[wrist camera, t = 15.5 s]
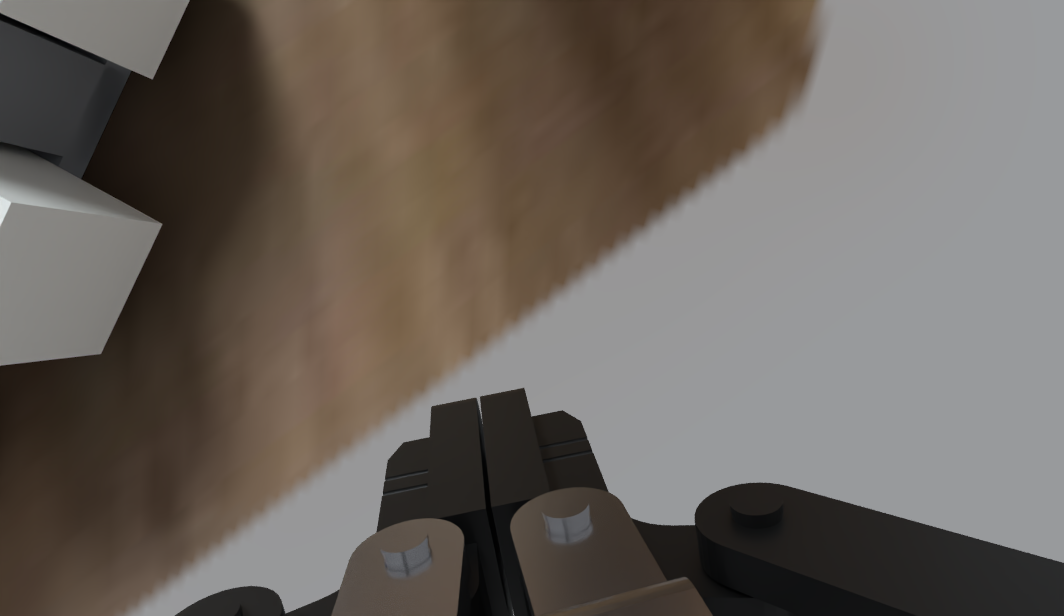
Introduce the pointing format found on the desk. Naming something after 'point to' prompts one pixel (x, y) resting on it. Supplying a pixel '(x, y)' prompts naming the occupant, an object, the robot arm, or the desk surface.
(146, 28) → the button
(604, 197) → the desk surface
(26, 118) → the button panel
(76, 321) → the middle button
